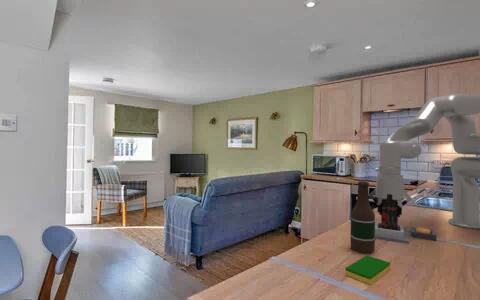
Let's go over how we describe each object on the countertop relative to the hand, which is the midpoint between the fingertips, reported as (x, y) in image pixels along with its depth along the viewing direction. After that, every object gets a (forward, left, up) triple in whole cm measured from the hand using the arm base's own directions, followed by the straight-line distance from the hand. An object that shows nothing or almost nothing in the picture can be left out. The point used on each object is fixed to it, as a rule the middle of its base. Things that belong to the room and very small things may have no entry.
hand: (389, 214), depth 108 cm
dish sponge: (+39, -5, -9) cm, 41 cm away
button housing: (-6, +12, -8) cm, 16 cm away
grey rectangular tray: (0, 0, -8) cm, 8 cm away
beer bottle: (+22, -8, -9) cm, 25 cm away
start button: (-6, +12, -8) cm, 15 cm away
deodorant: (0, 0, -6) cm, 6 cm away
